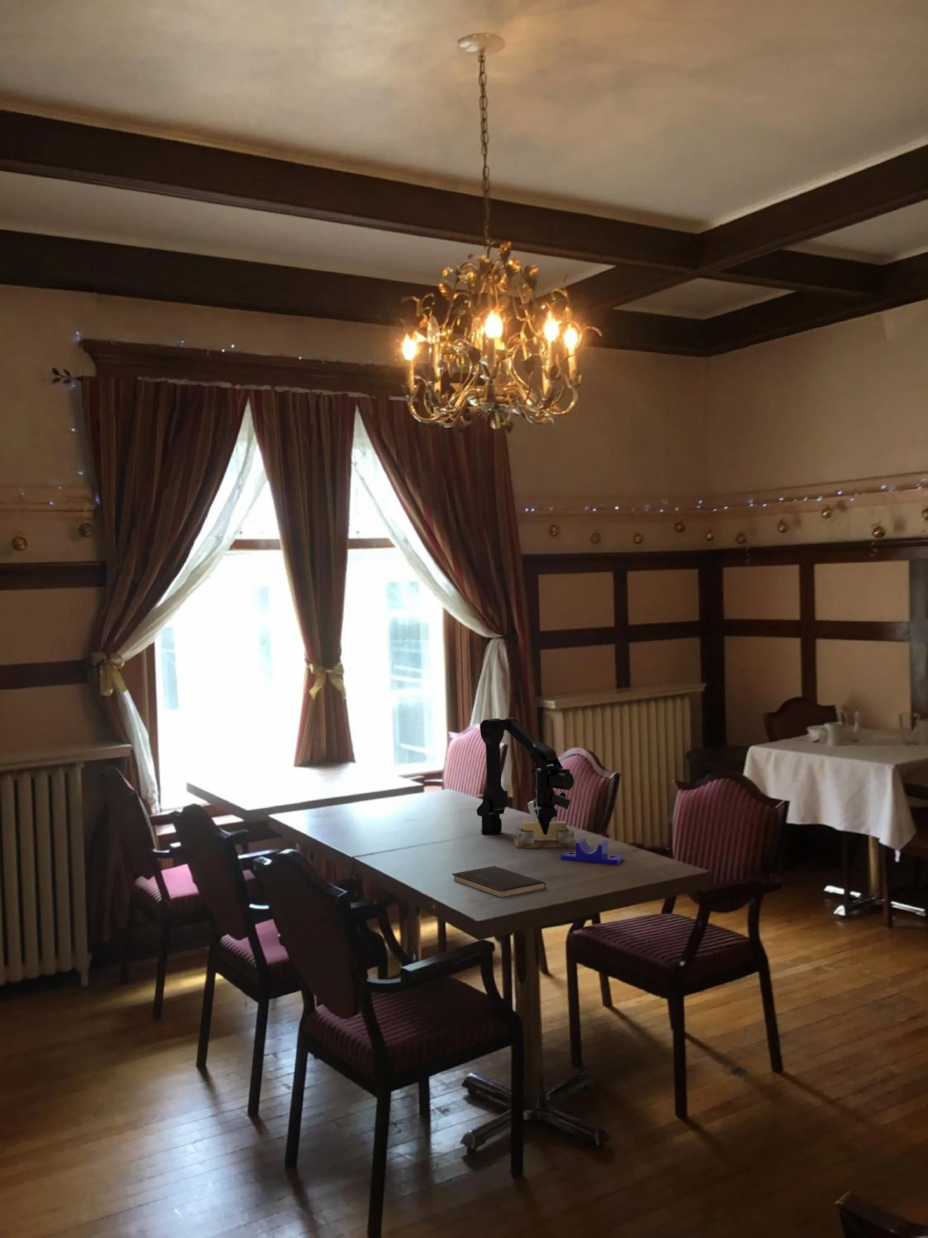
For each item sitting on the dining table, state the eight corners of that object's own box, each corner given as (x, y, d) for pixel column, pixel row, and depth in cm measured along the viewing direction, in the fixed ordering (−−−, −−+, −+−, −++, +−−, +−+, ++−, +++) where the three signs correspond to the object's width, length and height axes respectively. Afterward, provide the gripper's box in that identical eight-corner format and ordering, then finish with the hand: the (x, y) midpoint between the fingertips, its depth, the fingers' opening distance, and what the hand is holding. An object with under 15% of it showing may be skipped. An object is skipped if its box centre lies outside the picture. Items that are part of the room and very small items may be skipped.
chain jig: (516, 848, 355) (516, 834, 355) (513, 840, 366) (513, 827, 366) (577, 847, 356) (577, 833, 355) (572, 839, 366) (572, 826, 366)
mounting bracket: (622, 860, 339) (622, 841, 338) (617, 866, 332) (617, 846, 332) (567, 856, 345) (567, 837, 345) (560, 861, 339) (560, 842, 339)
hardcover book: (500, 899, 296) (500, 890, 296) (452, 881, 315) (452, 873, 315) (545, 889, 305) (545, 881, 305) (496, 873, 324) (496, 865, 324)
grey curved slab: (561, 827, 386) (551, 801, 385) (549, 833, 385) (540, 807, 384) (544, 818, 402) (535, 793, 401) (533, 823, 401) (524, 798, 400)
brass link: (524, 838, 359) (524, 823, 359) (523, 836, 362) (523, 821, 362) (566, 838, 359) (566, 823, 359) (565, 836, 363) (565, 821, 363)
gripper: (572, 791, 351) (572, 839, 352) (565, 781, 370) (565, 827, 370) (538, 791, 351) (538, 839, 351) (532, 781, 370) (532, 827, 370)
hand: (544, 833), depth 361 cm, fingers closed on brass link, 3 cm apart
